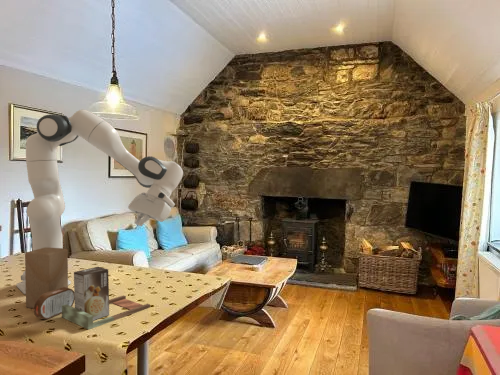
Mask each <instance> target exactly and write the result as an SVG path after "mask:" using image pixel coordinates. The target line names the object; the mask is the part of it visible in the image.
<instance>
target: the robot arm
mask: <svg viewBox="0 0 500 375" xmlns="http://www.w3.org/2000/svg"><path fill="white" fill-rule="evenodd" d="M36 131H37V133H33V134H31V135H30V136H28V137H27V139H26V142H25V162H26V170H27V171H26V172H27V178H28V180H27V181H28V183H29V185H30V187H31V190H32V195H33V198H32V199H31V201H30V202H29V203H28V206H27V208H26V215H27V218H28V222H29V227H30V231H31V239H32V240H31V242H32V244H31V245H32V251H34V250H37V249H41V248H45V247H48V248H63V247H64V246H63V245H64V243H63V240H64V239H63V238H64V237H63V236H64V235H63V231H62V226H61V221H60V220H61V219H60V217H61V216H62V215H63V213H65V212H64V211H65V209H66V202H65V199H64V193H63V190H62V184H61V182H60V174H59V166H58V158H57V157H58V156H57V149H58V146H59V147H62V146H65V145H68V144H70V143H72V142H74V141H76V140H77V139H78V138H79V137H80V138H81V139H84V140H85V141H86V142H88V143H89V144H91V145H92V146H93V147H95V148H96V149H98V150H100V151H101V152H103V153H104V154H106V155H108V157H110V158H112V159H113V160H114V161H116V162H117V163H118V164H119V165H121V166H122V167H123V168H124V169H126V170H128V172H130V173H131V174H132V175H133V176H134V178H135V179H136V181H137V183H138V185H140V186H142V187H144V188H146V189H147V188H148V190H147V192H141V193H139V194H137V195H136V196H135V197H134V198H133V199H132V201H131V202H130V203H129V204H128V208H127V209H129V211H130V212H132V213H135V214H136V215H137V216H136V219H135V221H134V224H136V226H140V227H142V226H143V225H144V224H145V223H146V222H147V221H149V220H150V219H152V220H155V221H158V222H161V223H162V222H165V221H166V219H167V218H168V217H169V215H170V213H171V212H172V209H173V208H174V207H175V205H176V203H175V202H174V201H173V200H172V199H171V196H172V193H173V191H175V190H176V188H177V187H178V185H179V184H180V183H181V180H182V178H183V176H184V171H183V168H182V166H181V165H180V164H178V162H176V161H173V160H161V159H159V158H156V157H155V156H145V157H142V158H141V159H138V158H137V157H136V156H134V155H133V154H132V153H130V151H129V150H127V149H126V147H125V146H124V144H123V141H122V138H121V136H120V133H119V131H118V130H116V129H115V127H114V126H112V125H111V124H110V123H109V122H107V121H106V120H105V119H103V118H102V117H100V116H99V115H97V114H95V113H93V112H91V111H89V110H87V109H79V110H77V111H75V112H74V113H73V114H72V115H71V116H70V117H68V116H67V115H63V114H53V113H51V114H47V115H46V114H45V115H43V116H41V117H40V118H39V119H38V120H37V123H36ZM20 280H21V281H20V282H18V283H16V287H17V288H18V289H19V291H20V292H22V294H24V295H26V279H25V270H24V271H23V272H22V274H21V275H20ZM70 284H72V281H71V280H69V279H68V286H69V285H70Z"/></svg>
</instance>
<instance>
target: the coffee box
mask: <svg viewBox="0 0 500 375" xmlns="http://www.w3.org/2000/svg"><path fill="white" fill-rule="evenodd" d="M109 288H110V287H109V269H108V268H105V267H101V266H94V267H91V268H86V269H82V270H77V271H73V291H74V308H76V309H79V310H81V311H83V312H86V313H88V314H90V315H93V321H96V320H98V319H102V318H105V317H108V316H109V315H110V304H109V300H110V291H109V290H110V289H109Z"/></svg>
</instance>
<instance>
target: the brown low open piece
mask: <svg viewBox="0 0 500 375" xmlns="http://www.w3.org/2000/svg"><path fill="white" fill-rule="evenodd" d="M126 297H127V296H126V295H120V296H117V297H113V298H109V305H111V304H113V305H116V306H119V307H121V308H124V309H127V310H126V311H123V312H120V313H119V312H118V313H117V314H114V315H112V316H109V317H108V316H107V317H106V318H105V317H104V318H103V319H102V318H101V319H100V320H97V321H94V320H93V315H90V314H88V313H86V312H83V311H81V310H79V309H76V308H75V306H72V307H71V306H69V305H67V304H66V305H62V313H61V318H62V319H65V320H68V321H69V322H71V323H73V324H76V325H78V326H80V327H82V328H84V329H87V330H91V329H94V328H97V327H100V326H102V325H106V324H107V323H111V322H113V321H116V320H119V319H122V318H125V317H127V316H129V315H133V314H135V313H138V312H141V311H144V310H147V309H149V308H151V304H150V303H145V304H141V303H138V302H135V301H133V300H130V299H127V298H126Z"/></svg>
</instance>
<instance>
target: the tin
mask: <svg viewBox="0 0 500 375" xmlns="http://www.w3.org/2000/svg"><path fill="white" fill-rule="evenodd" d="M66 304H67V305H69V306H71V307H73V305H75V300H74V289H72V288H69V287H68V288H67V287H62V288H59V289H56V290H53V291H50V292H47V293H44V294H42V295H41V296H40V297H39V298H38V299H37V301H36V302H35V305H34V308H33V313H34V316H35V317H36V318H37V319H38V318H39V319H42V320H48V319H51V318H53V317H56V316H58V315H62V305H66Z"/></svg>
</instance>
